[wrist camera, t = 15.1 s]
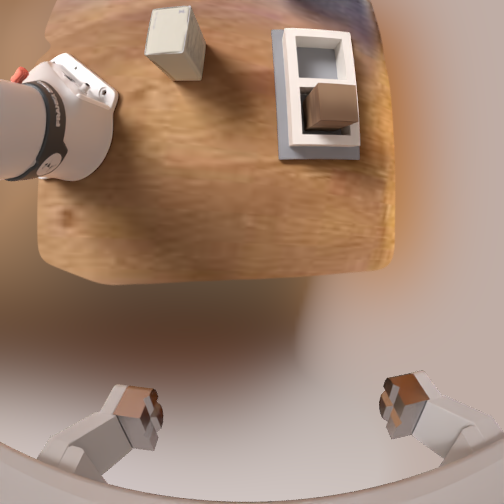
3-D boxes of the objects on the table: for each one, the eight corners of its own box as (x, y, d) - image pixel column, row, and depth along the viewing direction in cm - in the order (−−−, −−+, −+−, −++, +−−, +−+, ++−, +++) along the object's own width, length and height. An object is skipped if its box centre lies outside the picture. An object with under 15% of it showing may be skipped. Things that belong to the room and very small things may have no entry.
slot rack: (357, 159, 39) (370, 159, 34) (278, 159, 39) (282, 158, 34) (347, 36, 33) (357, 23, 28) (271, 32, 33) (273, 17, 29)
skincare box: (177, 44, 34) (151, 7, 22) (208, 43, 34) (191, 3, 22) (171, 82, 36) (141, 55, 24) (203, 82, 36) (183, 52, 24)
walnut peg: (302, 101, 36) (318, 82, 26) (332, 102, 35) (355, 85, 26) (304, 130, 37) (320, 119, 27) (333, 131, 37) (358, 121, 27)
